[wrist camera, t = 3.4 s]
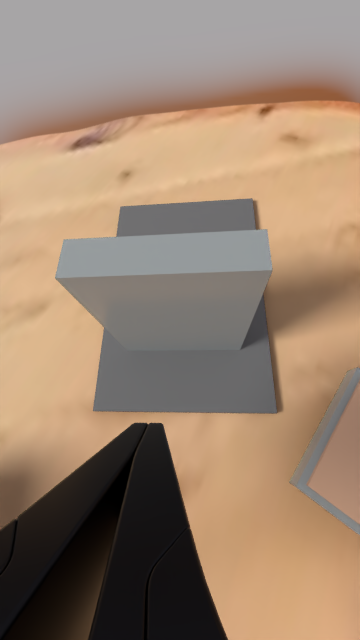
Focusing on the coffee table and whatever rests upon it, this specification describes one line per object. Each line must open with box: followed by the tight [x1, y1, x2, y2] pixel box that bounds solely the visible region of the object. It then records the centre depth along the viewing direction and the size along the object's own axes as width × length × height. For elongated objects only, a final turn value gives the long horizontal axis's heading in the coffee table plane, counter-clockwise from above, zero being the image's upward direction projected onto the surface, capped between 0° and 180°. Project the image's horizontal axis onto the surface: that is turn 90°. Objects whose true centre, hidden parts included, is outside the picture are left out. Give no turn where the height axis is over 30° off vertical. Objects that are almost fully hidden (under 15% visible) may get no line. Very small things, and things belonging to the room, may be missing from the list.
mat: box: [93, 199, 277, 414], centre depth 21 cm, size 18×12×1 cm, turn 179°
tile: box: [55, 229, 272, 351], centre depth 15 cm, size 2×8×10 cm, turn 89°
